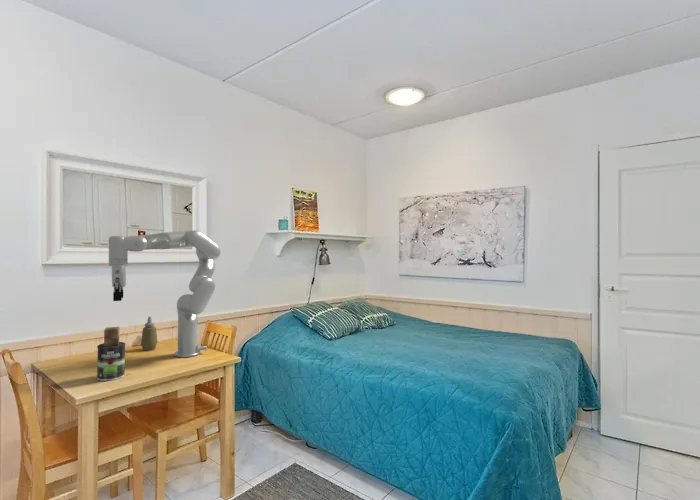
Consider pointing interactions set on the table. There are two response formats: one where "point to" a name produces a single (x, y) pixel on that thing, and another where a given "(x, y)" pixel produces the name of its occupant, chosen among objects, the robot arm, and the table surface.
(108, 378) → the coffee can
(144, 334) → the squeeze bottle
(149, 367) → the table surface
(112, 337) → the walnut block
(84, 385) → the table surface
